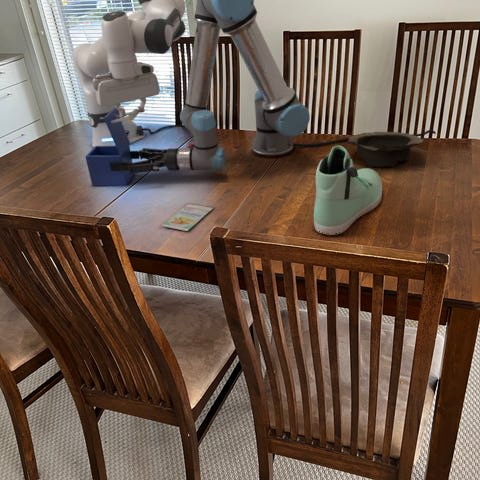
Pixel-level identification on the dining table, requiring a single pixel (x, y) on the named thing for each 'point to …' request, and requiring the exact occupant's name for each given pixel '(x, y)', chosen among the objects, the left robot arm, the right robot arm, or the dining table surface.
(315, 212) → the sneaker
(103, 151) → the chest
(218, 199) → the dining table surface
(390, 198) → the dining table surface
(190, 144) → the candy cane
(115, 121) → the lid
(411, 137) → the stone bowl
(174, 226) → the baking ingredient package
